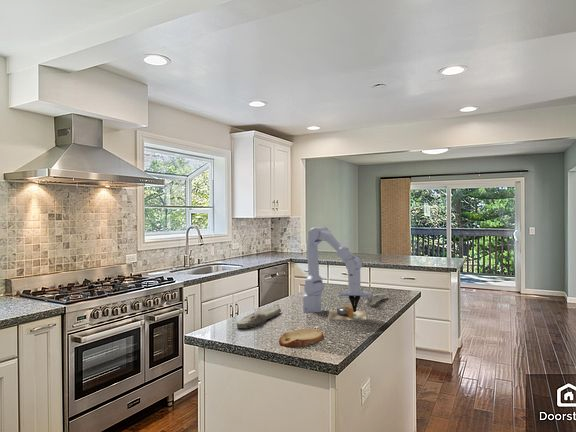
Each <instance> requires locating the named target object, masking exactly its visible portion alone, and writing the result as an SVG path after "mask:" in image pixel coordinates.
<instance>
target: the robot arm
mask: <svg viewBox="0 0 576 432" xmlns="http://www.w3.org/2000/svg"><path fill="white" fill-rule="evenodd" d="M307 236H308V237H307V239H306V250H307V270H308V271H307V272H308V276H307V277H306V278H305V279H304V282H305V283H304V286H303V289H304V292H305V293H304V294H303V296H302V309H303V311H302V313H305V314H307V313H319V312H323V311H324V310H323V308H322V294H323V291H324V289H325V285H324V283H323V278H322V277H321V276H320V267H319V266H320V265H319V250H318V249H319V246H318V245H319V244H320V243H322V241H323V242H327V243H328V244H329V246H331V247H332V248H333V249H334V250H335V251H336V255H337V256H338V257H339V258H340V260H341V261H342V262H343V263H344V264H345V268H346V269H347V273H348V274H347V278H348V281H347V283H348V291H339V292H338V296H339V297H348V299H349V302H350V304H351V307H352V308H353V312H356V311H357V308H358V304H359V302H360V299H361V298H366V297H370V294H371V292H370V291H367V292H365V291H362V290H361V269H362V268H363V260H362V259H361V258H360V257H359V256H356V255H355V254H353V253H352V252H351V251H350V248H349V247H348V246H342V245H341V243H340V242H339V241H338V240H337V239H336V237H335V236H334V235H333V233H332V231H331V230H330V229H328V227H327V226H319V227H315V226H314V227H313V226H312V228H310V229H309V230H308V231H307Z"/></svg>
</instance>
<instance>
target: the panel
mask: <svg viewBox="0 0 576 432" xmlns="http://www.w3.org/2000/svg"><path fill="white" fill-rule="evenodd" d="M353 318H357V319H358V320H357V321H367V315H366V310H356V312H353ZM353 318H350V317H348V316H343V315H338V314H337V309H330V310H329V312H328V316H327V320H340V321H341V320H344V321H345V320H347V321H349V320H350V321H356V320H355V319H353Z"/></svg>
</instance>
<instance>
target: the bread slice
mask: <svg viewBox="0 0 576 432" xmlns="http://www.w3.org/2000/svg"><path fill="white" fill-rule="evenodd" d="M323 339H324V334H323V331H321V330H319V329H317V328H313V327H312V328H303V329H297V330H292V331H287V332H284V333H283V334H282V335H281V336H280V337H279V340H278V343H279V346H281V347H283V346H284V347H286V348H293V347H294V348H299V347H306V346H310V345H314V344H317V343H318V342H321V341H322V340H323Z"/></svg>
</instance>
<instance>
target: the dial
mask: <svg viewBox="0 0 576 432" xmlns="http://www.w3.org/2000/svg"><path fill="white" fill-rule="evenodd" d="M336 310H337V314H338V315H343V316H348V317H350V318H353V307H352V305H350V304H344V306H343V307H342V306H341V307H340V306H339V307H337V308H336Z"/></svg>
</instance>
